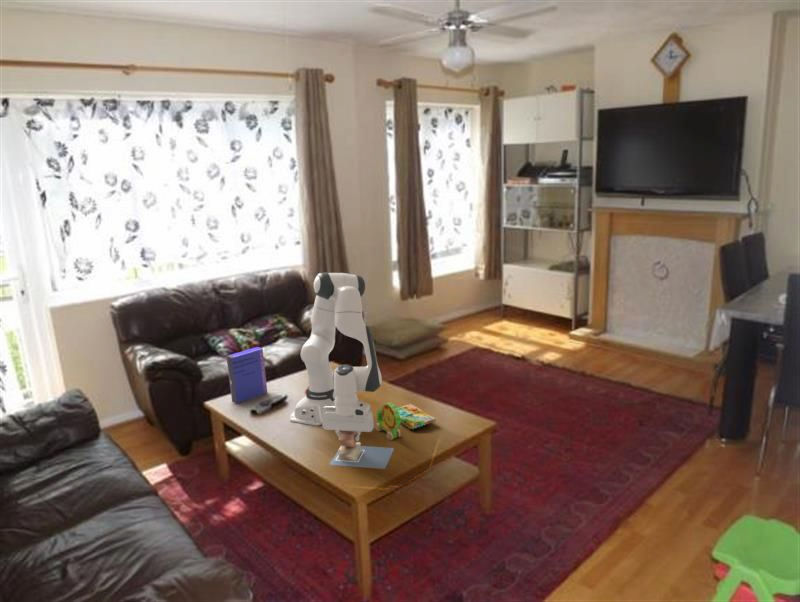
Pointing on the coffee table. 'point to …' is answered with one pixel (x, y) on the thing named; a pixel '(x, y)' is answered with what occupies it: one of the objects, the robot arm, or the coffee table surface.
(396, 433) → the toy lion
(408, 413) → the puzzle game
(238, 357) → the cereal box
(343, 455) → the ash base block
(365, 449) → the board
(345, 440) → the terracotta cube
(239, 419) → the coffee table surface
